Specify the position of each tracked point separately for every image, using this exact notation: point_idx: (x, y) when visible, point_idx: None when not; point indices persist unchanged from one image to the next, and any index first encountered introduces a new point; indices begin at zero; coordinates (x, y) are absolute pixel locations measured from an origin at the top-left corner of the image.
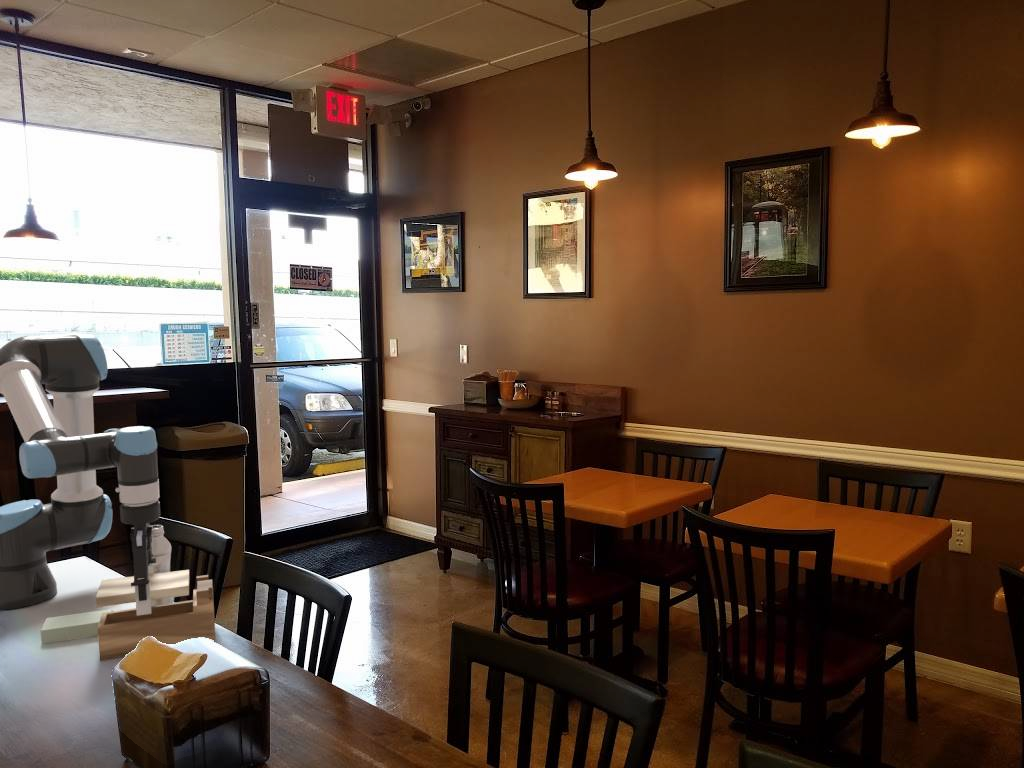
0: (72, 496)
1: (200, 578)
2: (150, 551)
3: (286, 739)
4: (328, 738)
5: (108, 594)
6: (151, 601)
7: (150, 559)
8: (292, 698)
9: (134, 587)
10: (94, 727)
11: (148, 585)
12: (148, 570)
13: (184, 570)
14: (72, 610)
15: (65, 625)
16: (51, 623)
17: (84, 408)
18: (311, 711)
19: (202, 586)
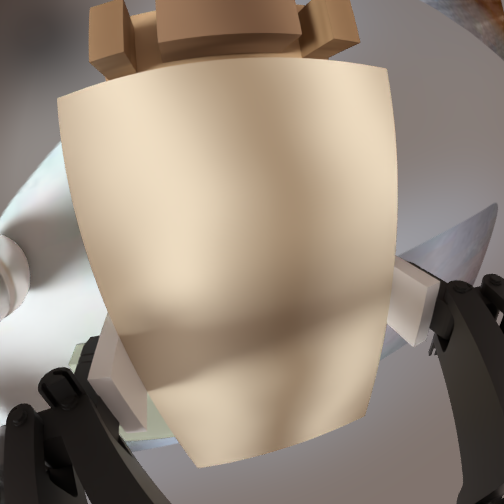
0: None
1: (123, 33)
2: (149, 499)
3: (499, 51)
4: (495, 24)
5: (355, 401)
6: (21, 288)
7: (101, 423)
8: (456, 11)
9: (324, 355)
10: (465, 235)
11: (430, 281)
12: (124, 373)
13: (67, 127)
14: (46, 407)
15: (159, 416)
16: (149, 432)
17: None
18: (471, 11)
19: (264, 10)
